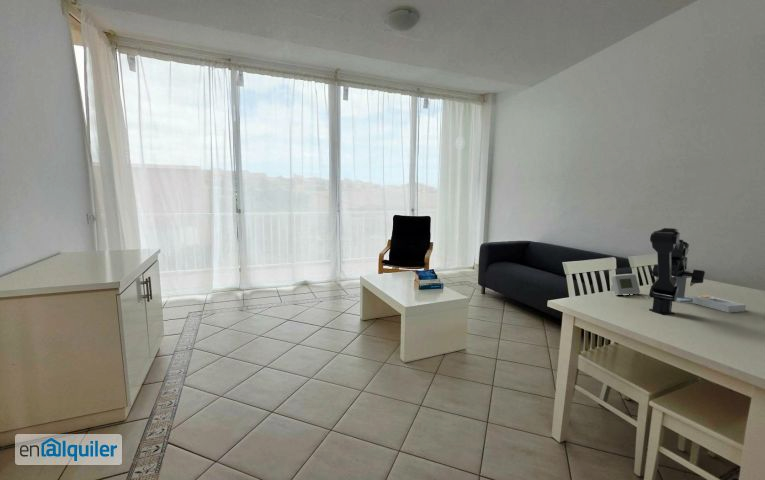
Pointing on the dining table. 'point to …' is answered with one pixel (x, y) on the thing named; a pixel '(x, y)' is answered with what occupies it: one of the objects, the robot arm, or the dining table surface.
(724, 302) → the white flat block
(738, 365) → the dining table surface
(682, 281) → the plug
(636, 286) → the digital clock
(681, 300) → the pad
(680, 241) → the robot arm
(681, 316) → the dining table surface
